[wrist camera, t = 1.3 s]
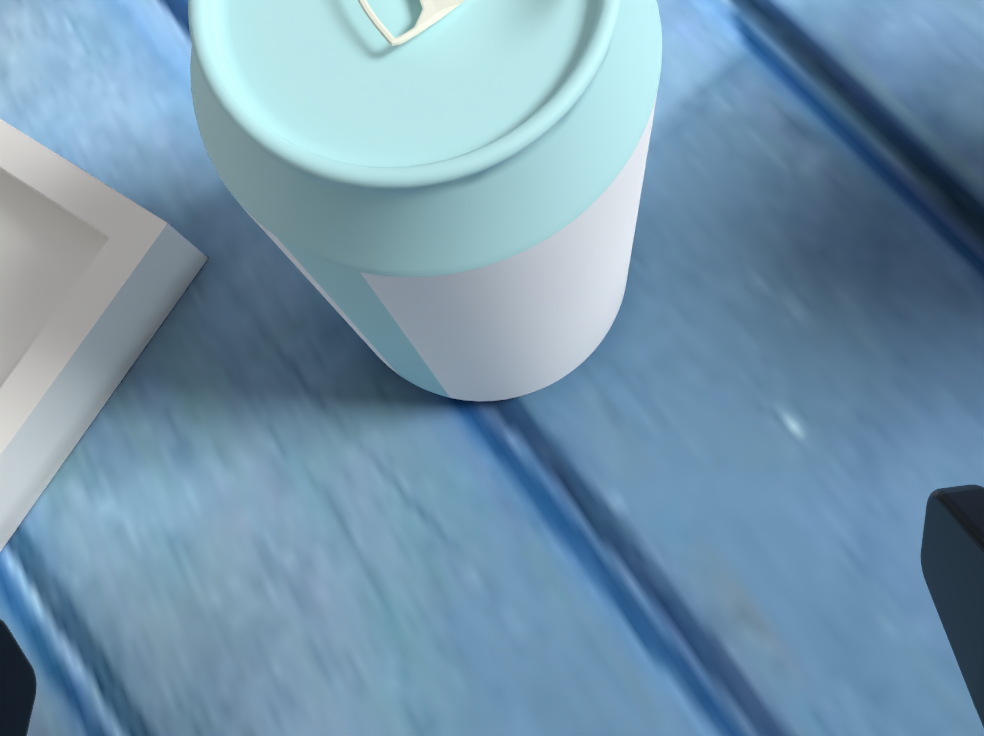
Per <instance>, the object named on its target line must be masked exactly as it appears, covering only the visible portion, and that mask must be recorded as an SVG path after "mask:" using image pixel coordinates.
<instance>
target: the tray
mask: <svg viewBox="0 0 984 736" xmlns="http://www.w3.org/2000/svg"><path fill="white" fill-rule="evenodd" d="M207 259H208V257H207V256H206V255H204V254H203V253H202V252H201V251H200V250H199V249H197V248H196V247H195V246H194V245H193V244H192V243H190V242H189V241H188V240H187V239H186V238H185V237H183V236H182V235H181V234H180V233H179V232H178V231H176V230H175V229H174V228H173V227H172V226H171V225H169V224H168V223H167V222H165V221H164V220H162V219H161V218H159V217H157V216H156V215H154V214H152V213H151V212H149V211H148V210H146V209H144V208H143V207H141V206H140V205H138V204H136V203H135V202H133V201H132V200H130V199H128V198H127V197H125V196H124V195H122V194H120V193H119V192H117V191H115V190H114V189H112V188H111V187H109V186H107V185H106V184H104V183H103V182H101V181H99V180H98V179H96V178H95V177H93V176H91V175H90V174H88V173H86V172H85V171H83V170H82V169H80V168H78V167H77V166H75V165H74V164H72V163H70V162H69V161H67V160H66V159H64V158H62V157H61V156H59V155H58V154H56V153H54V152H53V151H51V150H49V149H48V148H46V147H45V146H43V145H41V144H40V143H38V142H37V141H35V140H33V139H32V138H30V137H29V136H27V135H25V134H24V133H22V132H20V131H19V130H17V129H16V128H14V127H12V126H11V125H9V124H8V123H6V122H4V121H3V120H1V119H0V552H1V550H2V549H3V547H4V546H5V544H6V543H7V542H8V540H9V539H10V537H11V536H12V535H13V533H14V532H15V530H16V529H17V528H18V526H19V525H20V523H21V522H22V520H23V519H24V518H25V516H26V515H27V513H28V512H29V511H30V509H31V508H32V506H33V505H34V504H35V502H36V501H37V499H38V498H39V496H40V495H41V494H42V492H43V491H44V489H45V488H46V487H47V485H48V484H49V482H50V481H51V480H52V478H53V477H54V475H55V474H56V472H57V471H58V470H59V468H60V467H61V465H62V464H63V463H64V461H65V460H66V458H67V457H68V456H69V454H70V453H71V451H72V450H73V448H74V447H75V446H76V444H77V443H78V441H79V440H80V439H81V437H82V436H83V434H84V433H85V432H86V430H87V429H88V427H89V426H90V424H91V423H92V422H93V420H94V419H95V417H96V416H97V415H98V413H99V412H100V410H101V409H102V408H103V406H104V405H105V403H106V402H107V400H108V399H109V398H110V396H111V395H112V393H113V392H114V391H115V389H116V388H117V386H118V385H119V384H120V382H121V381H122V379H123V378H124V376H125V375H126V374H127V372H128V371H129V369H130V368H131V367H132V365H133V364H134V362H135V361H136V360H137V358H138V357H139V355H140V354H141V352H142V351H143V350H144V348H145V347H146V345H147V344H148V343H149V341H150V340H151V338H152V337H153V336H154V334H155V333H156V331H157V330H158V328H159V327H160V326H161V324H162V323H163V321H164V320H165V319H166V317H167V316H168V314H169V313H170V312H171V310H172V309H173V307H174V306H175V304H176V303H177V302H178V300H179V299H180V297H181V296H182V295H183V293H184V292H185V290H186V289H187V288H188V286H189V285H190V283H191V282H192V280H193V279H194V278H195V276H196V275H197V273H198V272H199V271H200V269H201V268H202V266H203V265H204V264H205V262H206V261H207Z"/></svg>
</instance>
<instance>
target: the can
mask: <svg viewBox="0 0 984 736" xmlns="http://www.w3.org/2000/svg"><path fill="white" fill-rule="evenodd" d="M188 13H189V28H190V34H191V41H192V50H191V65H190V74H191V92H192V98H193V105H194V111H195V116H196V120H197V123H198V127H199V131H200V135H201V138H202V140H203V143H204V146H205V148H206V151H207V154H208V156H209V158H210V160H211V162H212V164H213V166H214V168H215V170H216V171H217V173H218V175H219V177H220V178H221V180H222V181H223V183H224V184H225V186H226V187H227V189H228V190H229V192H230V193H231V194H232V195H233V196H234V198H235V199H236V200H237V201H238V202H239V204H240V205H241V206H242V207H243V208H244V209H245V211H246V212H247V213H248V214H249V215H250V216H251V217H252V218H253V219H254V220H255V222H256V223H257V224H258V225H259V226H260V227H261V228H262V229H263V230H264V231H265V233H266V234H267V235H268V236H269V237H270V238H271V239H272V240H273V241H274V242H275V244H276V245H277V246H278V247H279V248H280V249H281V250H282V251H283V252H284V253H285V255H286V256H287V257H288V258H289V259H290V260H291V261H292V262H293V263H294V264H295V266H296V267H297V268H298V269H299V270H300V271H301V272H302V273H303V274H304V275H305V277H306V278H307V279H308V280H309V281H310V282H311V283H312V284H313V285H314V286H315V288H316V289H317V290H318V291H319V292H320V293H321V294H322V295H323V296H324V297H325V299H326V300H327V301H328V302H329V303H330V304H331V305H332V306H333V307H334V308H335V310H336V311H337V312H338V313H339V314H340V315H341V316H342V317H343V318H344V319H345V321H346V322H347V323H348V324H349V325H350V326H351V327H352V328H353V329H354V330H355V332H356V333H357V334H358V335H359V336H360V337H361V338H362V339H363V340H364V341H365V343H366V344H367V345H368V346H369V347H370V348H371V349H372V350H373V351H374V352H375V354H376V355H377V356H378V357H379V358H380V359H381V360H382V361H383V362H384V363H385V364H386V365H387V366H388V367H389V368H391V369H392V370H393V371H395V372H396V373H397V374H398V375H400V376H401V377H403V378H404V379H406V380H407V381H409V382H411V383H412V384H414V385H416V386H418V387H420V388H422V389H425V390H427V391H430V392H432V393H435V394H438V395H442V396H445V397H449V398H454V399H460V400H468V401H496V400H504V399H510V398H515V397H519V396H523V395H526V394H529V393H532V392H535V391H537V390H540V389H542V388H544V387H547V386H549V385H551V384H552V383H554V382H556V381H558V380H560V379H561V378H563V377H564V376H566V375H567V374H569V373H570V372H571V371H573V370H574V369H575V368H576V367H578V366H579V365H580V364H581V363H582V362H584V361H585V360H586V359H587V357H588V356H589V355H590V354H591V353H592V352H593V351H594V350H595V349H596V348H597V346H598V345H599V344H600V343H601V341H602V340H603V339H604V337H605V335H606V334H607V332H608V331H609V329H610V328H611V326H612V324H613V322H614V320H615V318H616V316H617V313H618V311H619V308H620V306H621V303H622V299H623V296H624V292H625V288H626V282H627V276H628V270H629V263H630V257H631V251H632V245H633V239H634V233H635V226H636V220H637V214H638V208H639V202H640V196H641V190H642V183H643V177H644V171H645V165H646V159H647V153H648V146H649V140H650V134H651V128H652V122H653V116H654V109H655V103H656V97H657V91H658V85H659V79H660V73H661V62H662V33H661V22H660V16H659V10H658V5H657V1H656V0H189V1H188Z"/></svg>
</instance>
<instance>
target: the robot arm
mask: <svg viewBox="0 0 984 736" xmlns="http://www.w3.org/2000/svg"><path fill="white" fill-rule="evenodd" d="M921 565H922V571H923V575H924V578H925V581H926V584H927V586H928V589H929V591H930V594H931V596H932V599H933V602H934V604H935V607H936V609H937V612H938V614H939V617H940V619H941V622H942V624H943V627H944V629H945V632H946V635H947V637H948V640H949V642H950V645H951V647H952V650H953V652H954V655H955V657H956V660H957V663H958V665H959V668H960V670H961V673H962V675H963V678H964V680H965V683H966V685H967V688H968V690H969V693H970V696H971V698H972V701H973V703H974V706H975V708H976V710H977V713H978V715H979V717H980V720H981V722H982V725H983V727H984V488H983V487H981V486H978V485H964V486H956V487H949V488H941V489H937V490H935V491H933V492H932V493H931V494H930V496H929V498H928V501H927V506H926V514H925V523H924V531H923V539H922V547H921ZM35 695H36V677H35V673H34V670H33V668H32V666H31V664H30V662H29V661H28V659H27V658H26V656H25V654H24V653H23V651H22V649H21V648H20V646H19V645H18V643H17V641H16V640H15V638H14V637H13V635H12V633H11V632H10V630H9V629H8V627H7V625H6V624H5V623H4V621H2V620H1V619H0V736H27V731H28V727H29V722H30V718H31V713H32V709H33V705H34V700H35Z"/></svg>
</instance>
